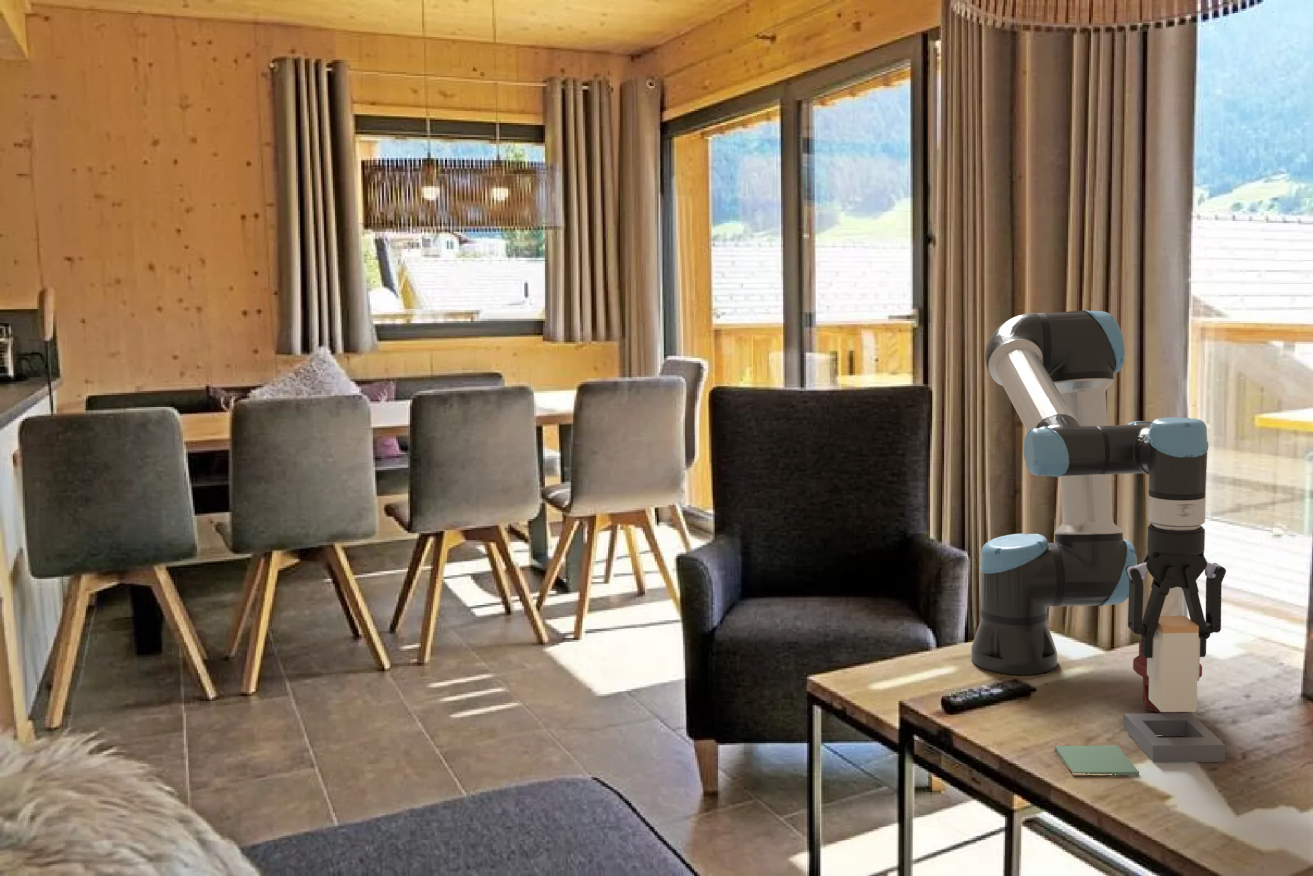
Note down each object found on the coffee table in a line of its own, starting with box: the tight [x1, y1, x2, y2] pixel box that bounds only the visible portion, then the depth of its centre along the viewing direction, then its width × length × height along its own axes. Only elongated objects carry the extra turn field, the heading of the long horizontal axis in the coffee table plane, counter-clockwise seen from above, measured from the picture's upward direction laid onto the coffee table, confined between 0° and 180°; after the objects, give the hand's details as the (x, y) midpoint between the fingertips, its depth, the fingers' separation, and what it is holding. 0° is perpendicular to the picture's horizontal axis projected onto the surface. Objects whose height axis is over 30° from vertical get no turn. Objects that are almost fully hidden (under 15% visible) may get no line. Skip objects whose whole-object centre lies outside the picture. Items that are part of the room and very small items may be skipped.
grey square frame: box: [1123, 712, 1226, 763], centre depth 160 cm, size 12×10×2 cm
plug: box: [1149, 615, 1199, 713], centre depth 159 cm, size 5×5×13 cm
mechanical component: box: [1132, 639, 1203, 713], centre depth 172 cm, size 12×10×10 cm
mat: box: [1054, 745, 1140, 776], centre depth 155 cm, size 9×9×1 cm
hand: (1172, 677), depth 159 cm, fingers closed on plug, 5 cm apart
